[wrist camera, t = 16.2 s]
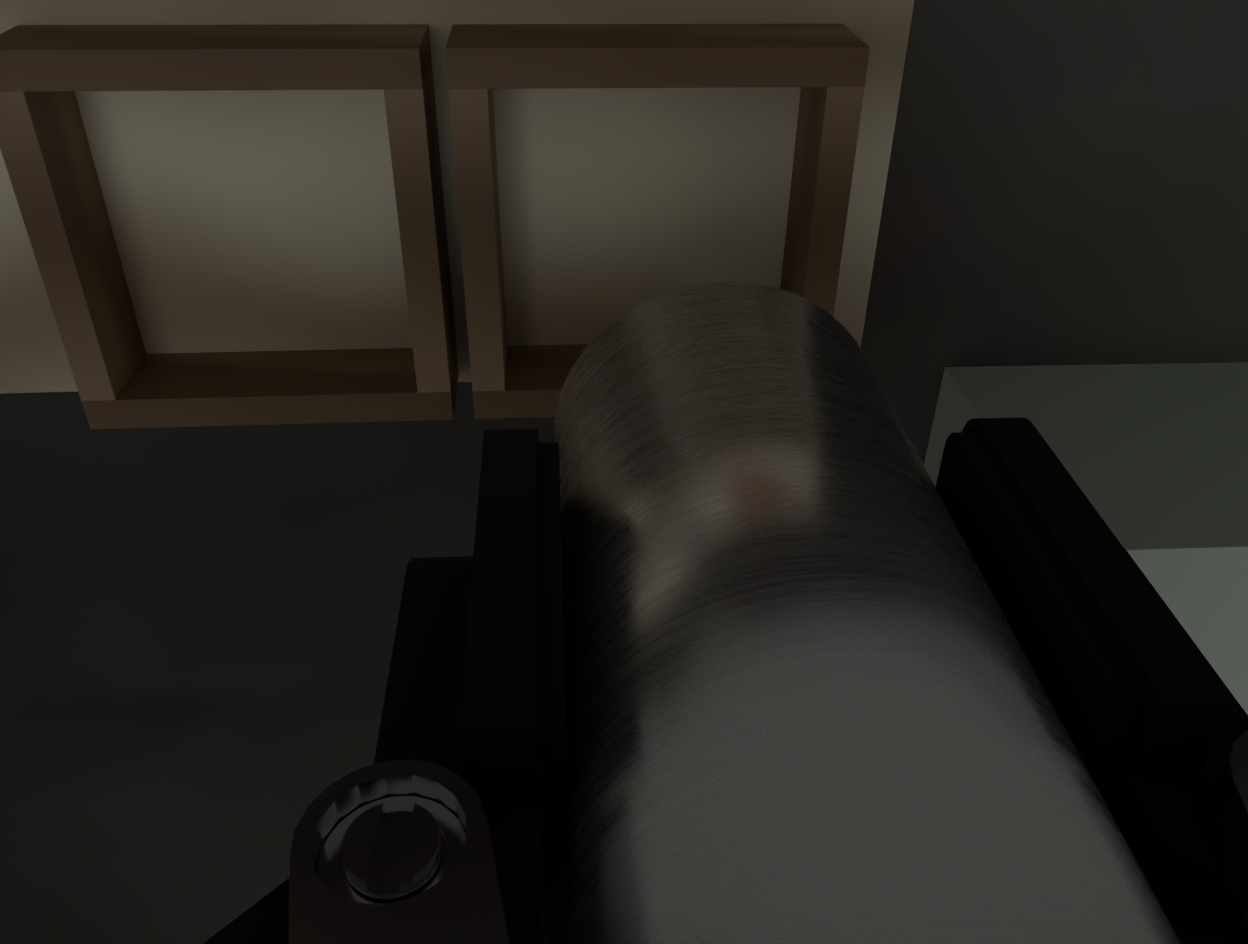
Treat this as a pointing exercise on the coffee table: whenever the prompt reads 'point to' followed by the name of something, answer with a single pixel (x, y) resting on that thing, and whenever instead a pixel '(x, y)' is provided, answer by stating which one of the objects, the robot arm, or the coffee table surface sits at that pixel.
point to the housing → (1143, 474)
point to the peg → (798, 664)
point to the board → (415, 191)
